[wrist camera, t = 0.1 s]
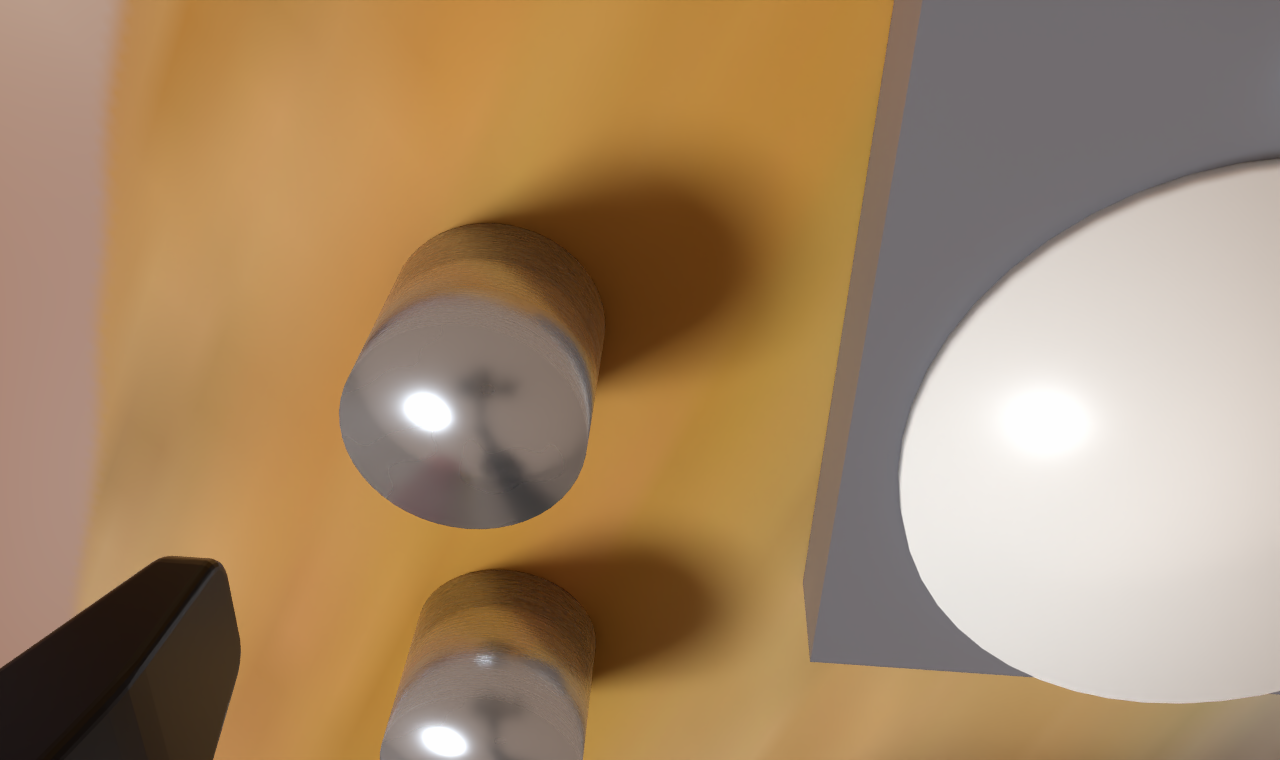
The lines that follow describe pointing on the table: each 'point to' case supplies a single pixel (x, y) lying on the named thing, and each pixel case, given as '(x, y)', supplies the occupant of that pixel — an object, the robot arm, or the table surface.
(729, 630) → the table surface
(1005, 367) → the scale
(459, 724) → the cylinder
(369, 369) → the cylinder
